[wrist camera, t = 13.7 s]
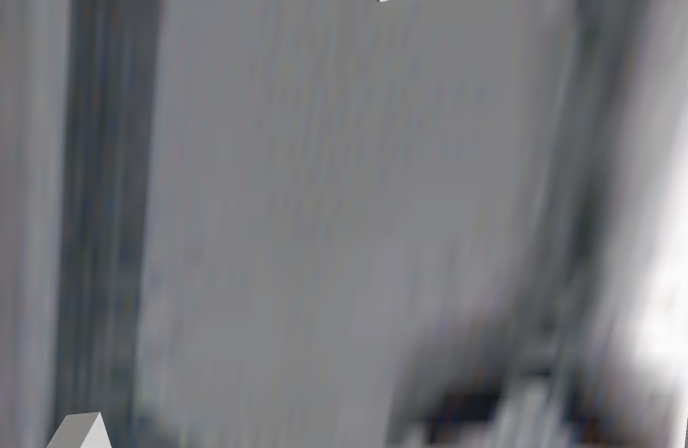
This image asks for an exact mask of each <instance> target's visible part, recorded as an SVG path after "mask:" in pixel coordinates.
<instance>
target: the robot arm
mask: <svg viewBox="0 0 688 448" xmlns="http://www.w3.org/2000/svg"><path fill="white" fill-rule="evenodd" d="M46 448H111V445H110V442H109V439H108V436H107V433H106V430H105V427H104V423H103V420H102V417H101V414H100V412H95V413H85V414H75V415H66V417H65V419H64V420H63V422H62V423H61V425H60V427H59V428H58V430H57V431H56V433H55V435H54V436H53V438H52V439H51V441H50V443H49V444H48V446H47V447H46ZM685 448H688V420H687V430H686V440H685Z"/></svg>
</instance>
